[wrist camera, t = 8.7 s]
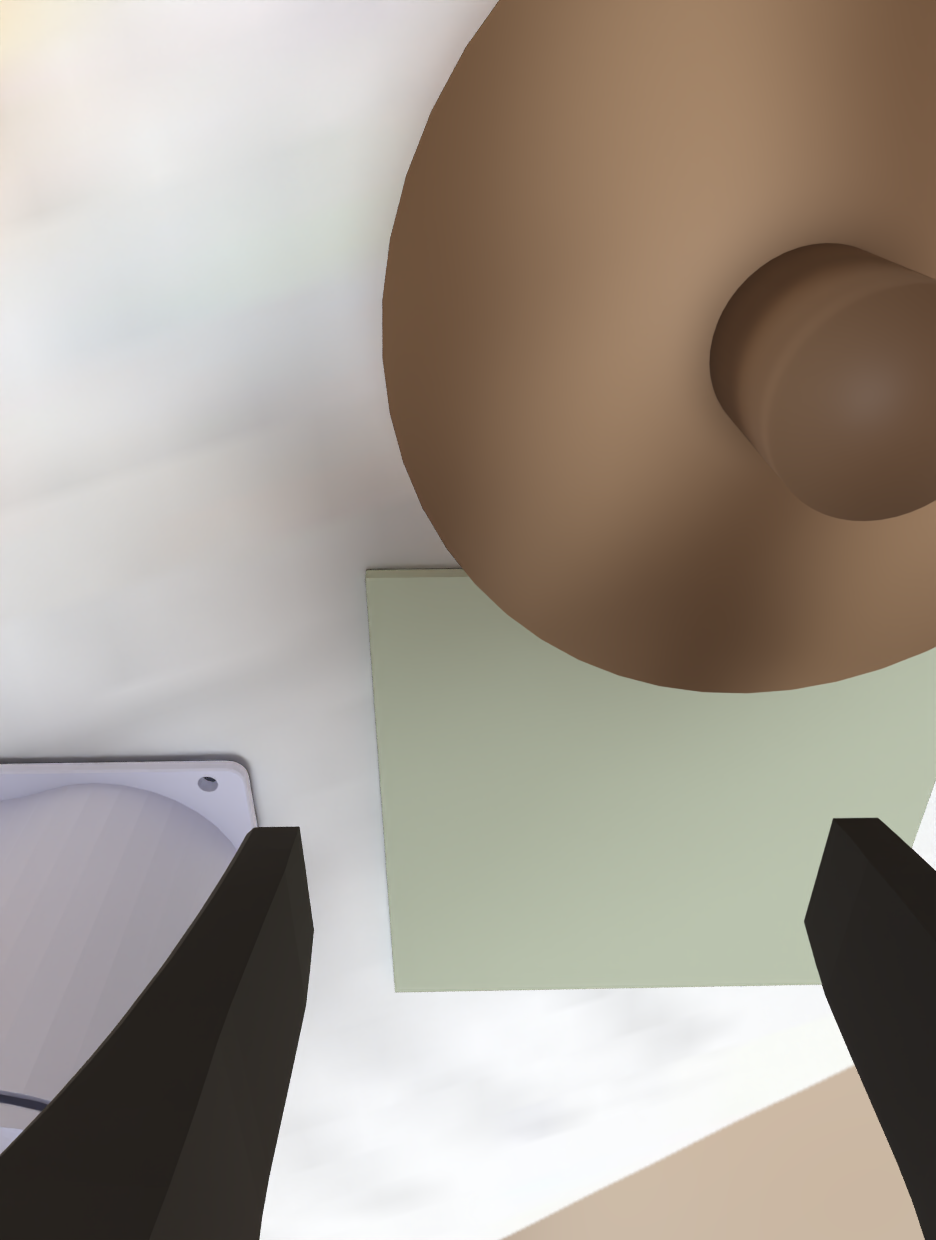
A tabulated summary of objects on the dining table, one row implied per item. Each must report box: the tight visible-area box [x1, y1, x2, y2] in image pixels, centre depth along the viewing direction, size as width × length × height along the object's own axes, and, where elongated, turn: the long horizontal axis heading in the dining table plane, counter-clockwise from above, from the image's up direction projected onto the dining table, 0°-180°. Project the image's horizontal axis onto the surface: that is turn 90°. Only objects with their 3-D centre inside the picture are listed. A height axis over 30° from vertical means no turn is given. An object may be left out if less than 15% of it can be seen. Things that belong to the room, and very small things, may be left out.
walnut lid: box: [382, 0, 936, 693], centre depth 13 cm, size 13×13×4 cm
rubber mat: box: [365, 569, 936, 992], centre depth 25 cm, size 15×15×1 cm
